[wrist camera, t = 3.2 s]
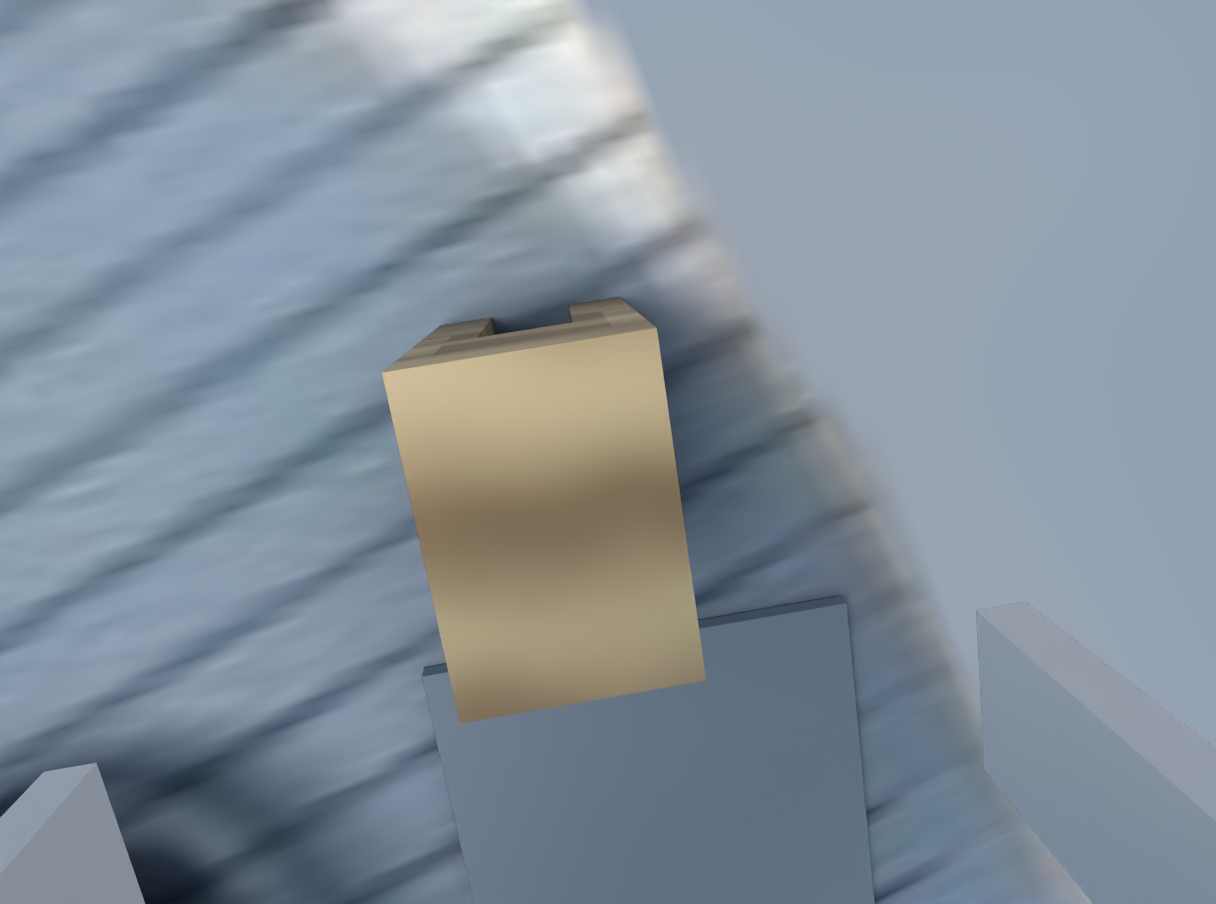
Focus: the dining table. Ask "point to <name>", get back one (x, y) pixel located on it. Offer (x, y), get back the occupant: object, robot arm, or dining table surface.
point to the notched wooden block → (548, 509)
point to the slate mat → (675, 779)
